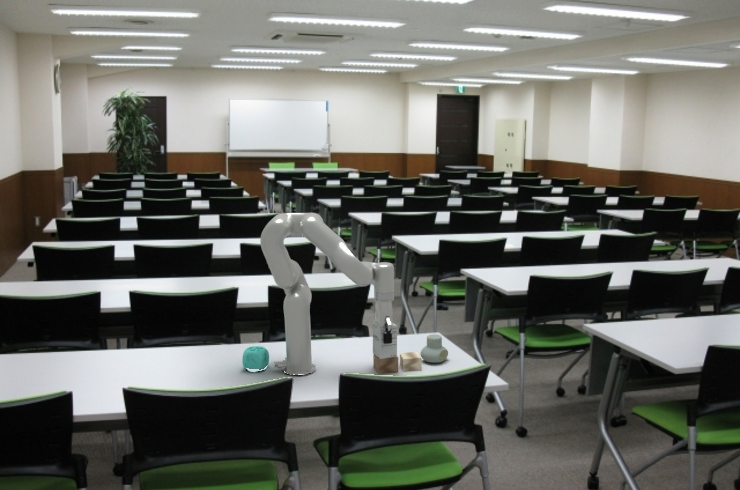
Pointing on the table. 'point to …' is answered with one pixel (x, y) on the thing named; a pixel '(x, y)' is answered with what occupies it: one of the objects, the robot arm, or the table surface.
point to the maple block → (410, 361)
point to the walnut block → (385, 365)
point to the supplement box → (378, 345)
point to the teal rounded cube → (255, 357)
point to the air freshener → (434, 350)
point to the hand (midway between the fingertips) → (384, 339)
